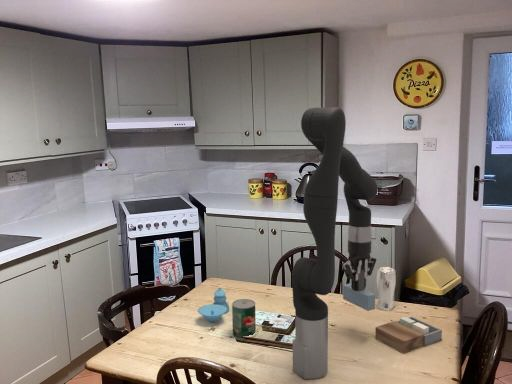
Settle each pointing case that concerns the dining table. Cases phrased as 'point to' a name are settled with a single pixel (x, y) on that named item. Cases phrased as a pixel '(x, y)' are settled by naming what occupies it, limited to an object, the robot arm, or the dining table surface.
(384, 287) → the beer glass
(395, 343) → the brown wooden block
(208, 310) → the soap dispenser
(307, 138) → the robot arm
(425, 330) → the tile
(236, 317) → the canned tomato
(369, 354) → the dining table surface
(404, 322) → the tile
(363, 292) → the scraper
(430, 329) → the box
